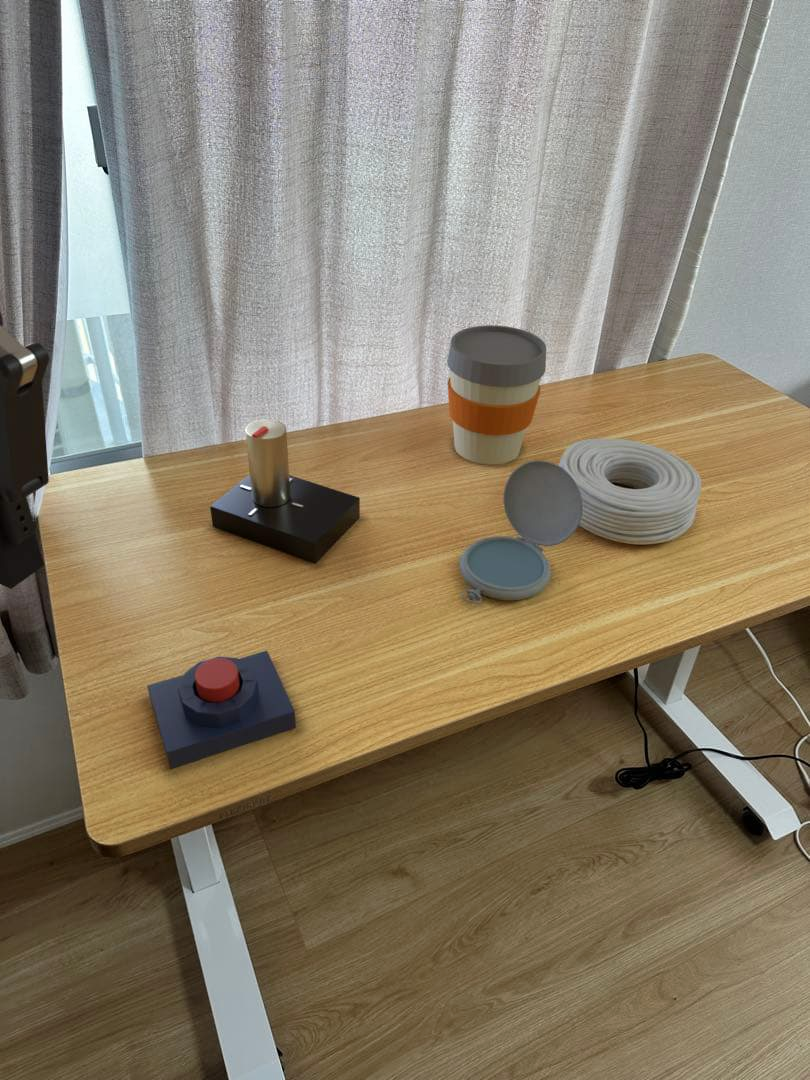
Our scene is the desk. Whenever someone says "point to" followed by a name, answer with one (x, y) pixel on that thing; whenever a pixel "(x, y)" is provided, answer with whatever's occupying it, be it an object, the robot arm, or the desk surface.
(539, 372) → the reusable coffee cup
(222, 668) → the red button
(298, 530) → the black dial base
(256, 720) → the button block
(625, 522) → the cable
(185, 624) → the desk surface
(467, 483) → the desk surface
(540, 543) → the pocket watch
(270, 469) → the lock knob
